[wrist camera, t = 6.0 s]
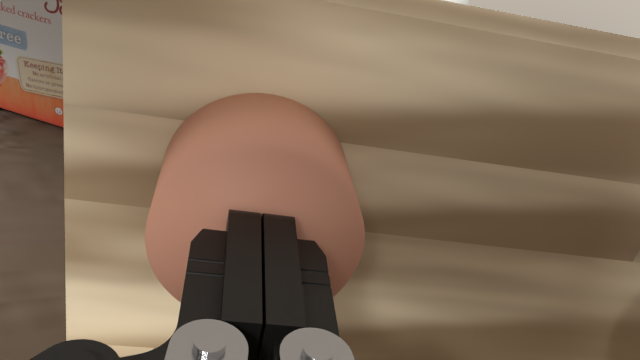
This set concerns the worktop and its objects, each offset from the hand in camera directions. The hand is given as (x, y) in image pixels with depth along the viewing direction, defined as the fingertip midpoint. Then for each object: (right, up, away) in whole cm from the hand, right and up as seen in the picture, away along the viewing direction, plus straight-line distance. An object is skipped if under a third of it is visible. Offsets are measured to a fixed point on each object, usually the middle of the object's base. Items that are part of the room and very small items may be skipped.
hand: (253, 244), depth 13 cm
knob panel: (+5, -6, +7) cm, 11 cm away
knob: (-1, +1, +7) cm, 7 cm away
